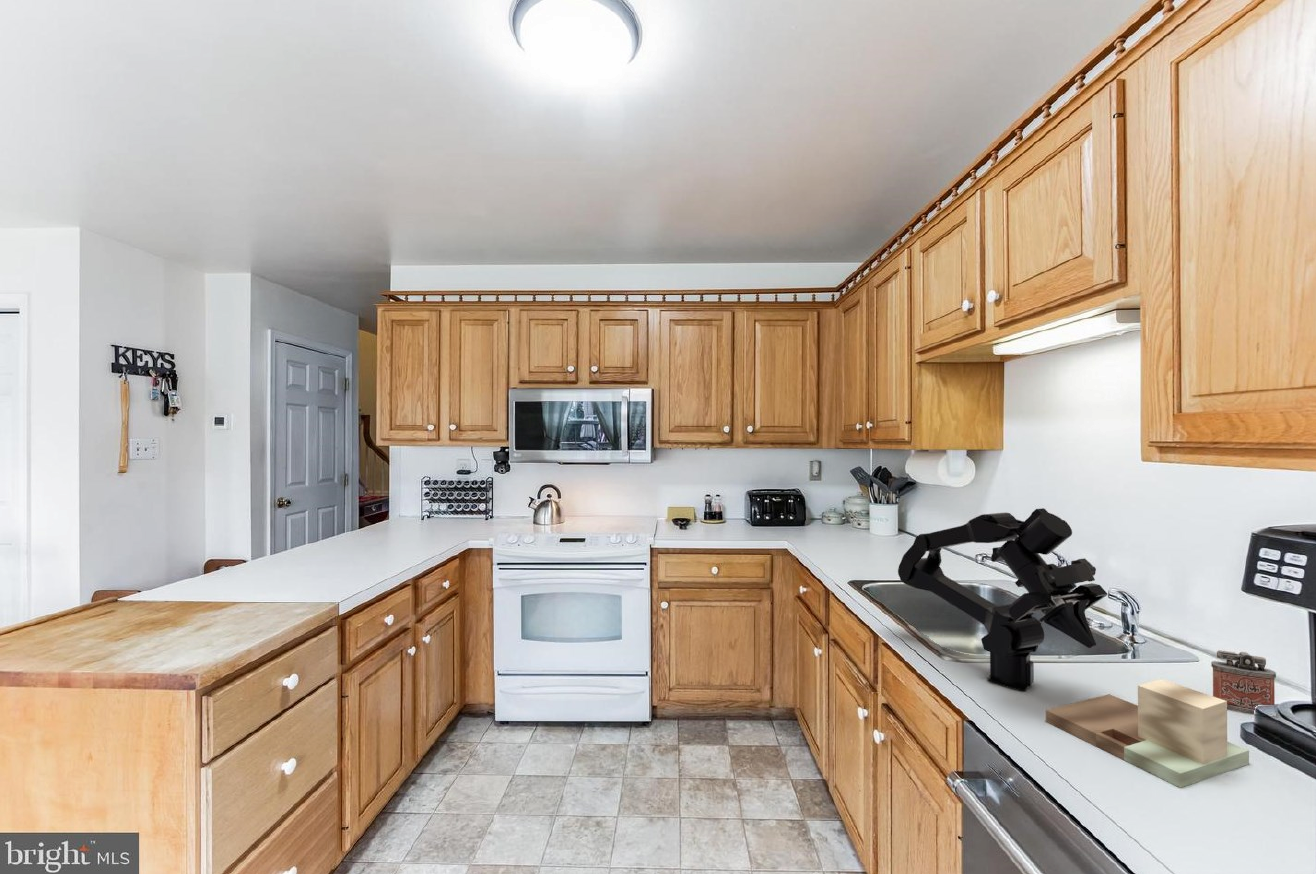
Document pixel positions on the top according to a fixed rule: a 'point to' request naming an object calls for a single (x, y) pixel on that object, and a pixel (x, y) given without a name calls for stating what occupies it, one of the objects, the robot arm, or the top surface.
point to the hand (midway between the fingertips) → (1093, 646)
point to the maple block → (1183, 720)
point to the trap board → (1136, 740)
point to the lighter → (1243, 681)
